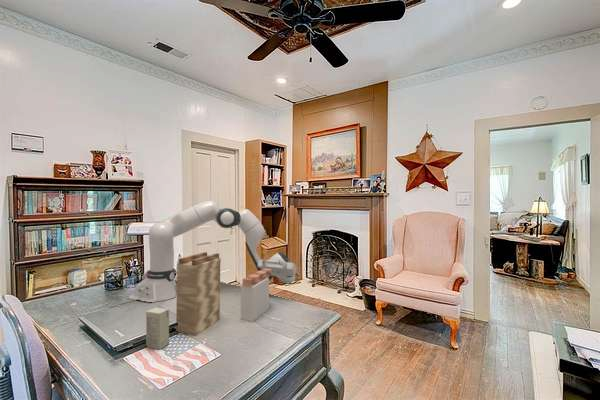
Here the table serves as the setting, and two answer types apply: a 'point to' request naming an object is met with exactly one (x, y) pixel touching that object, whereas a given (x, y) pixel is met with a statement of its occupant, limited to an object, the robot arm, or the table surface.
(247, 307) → the shelf
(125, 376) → the table surface
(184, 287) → the chute stand
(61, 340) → the table surface
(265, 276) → the bar
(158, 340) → the skincare box
